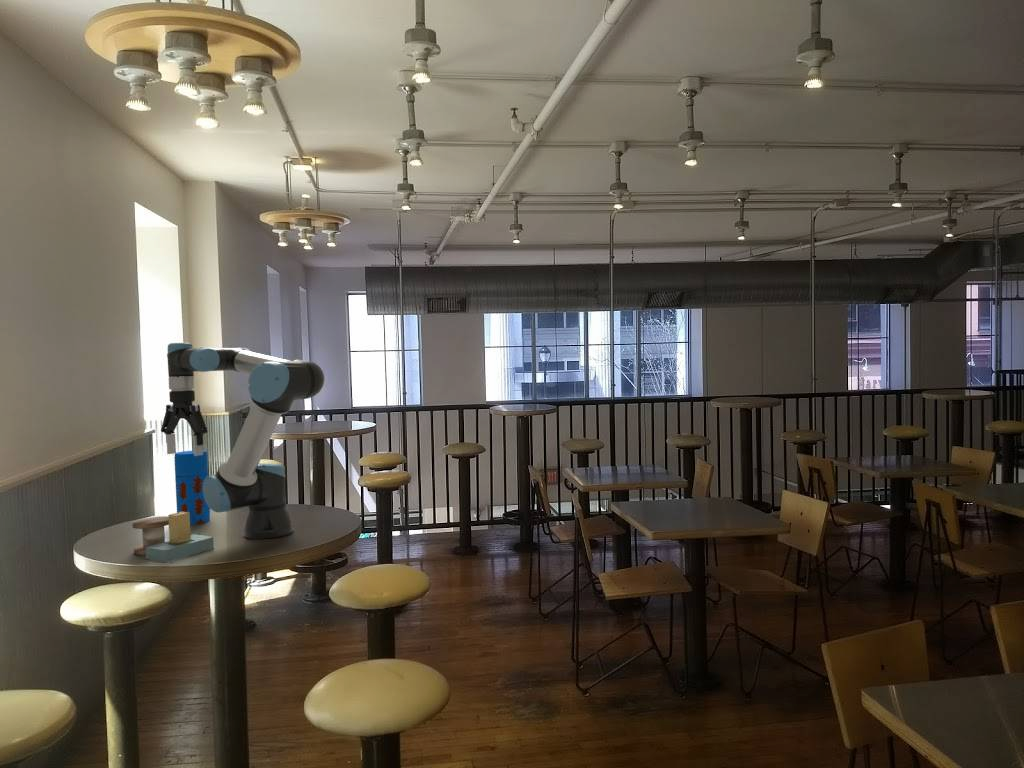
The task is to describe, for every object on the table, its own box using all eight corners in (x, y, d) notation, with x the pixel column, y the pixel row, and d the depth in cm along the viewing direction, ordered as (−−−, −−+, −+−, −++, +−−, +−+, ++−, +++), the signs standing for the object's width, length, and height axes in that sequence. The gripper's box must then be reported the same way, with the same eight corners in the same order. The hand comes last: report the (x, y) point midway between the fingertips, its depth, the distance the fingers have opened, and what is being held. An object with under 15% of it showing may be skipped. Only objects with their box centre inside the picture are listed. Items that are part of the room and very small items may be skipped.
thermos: (215, 521, 251) (211, 451, 250) (183, 526, 244) (180, 455, 243) (203, 516, 259) (200, 449, 258) (173, 522, 252) (169, 452, 251)
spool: (182, 547, 215) (180, 518, 215) (148, 557, 206) (147, 526, 205) (159, 544, 220) (158, 515, 220) (125, 553, 211) (124, 522, 211)
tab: (183, 551, 211) (181, 511, 211) (191, 552, 210) (189, 512, 209) (170, 554, 208) (168, 514, 207) (177, 556, 206) (175, 515, 205)
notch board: (194, 545, 218) (193, 534, 218) (213, 548, 213) (213, 537, 213) (146, 558, 204) (145, 547, 204) (165, 562, 199) (165, 550, 199)
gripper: (217, 389, 227) (220, 454, 228) (168, 389, 239) (170, 451, 240) (197, 390, 220) (200, 457, 221) (147, 390, 232) (150, 454, 233)
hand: (184, 454), depth 230 cm, fingers open, 13 cm apart
